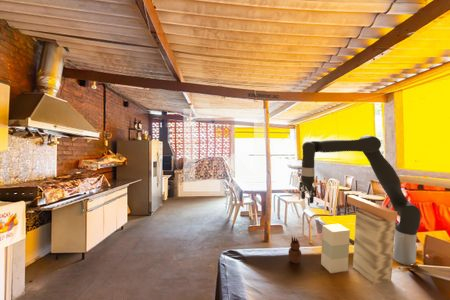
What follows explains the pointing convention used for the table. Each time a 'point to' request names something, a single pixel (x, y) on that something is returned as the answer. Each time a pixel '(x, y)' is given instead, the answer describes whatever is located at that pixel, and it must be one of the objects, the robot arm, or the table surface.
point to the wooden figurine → (294, 251)
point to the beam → (372, 208)
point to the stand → (373, 246)
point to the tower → (335, 248)
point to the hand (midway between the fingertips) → (307, 200)
